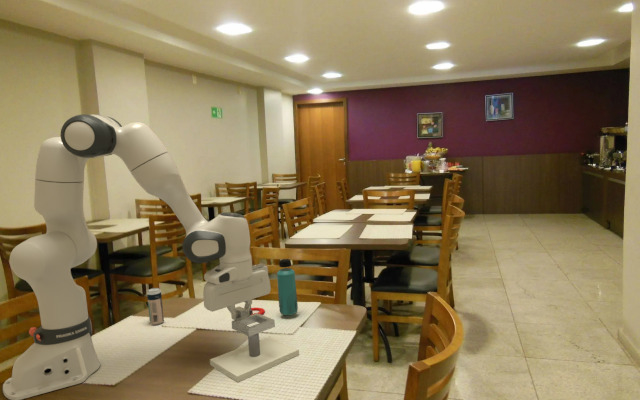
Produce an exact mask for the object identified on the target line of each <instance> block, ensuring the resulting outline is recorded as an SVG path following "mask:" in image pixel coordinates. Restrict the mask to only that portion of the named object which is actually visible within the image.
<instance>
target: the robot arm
mask: <svg viewBox="0 0 640 400" xmlns="http://www.w3.org/2000/svg"><path fill="white" fill-rule="evenodd" d="M111 155H115V156H117V157H118V158H120V159H121V160H122V161H123V163H124V165H125V166H126V167H127V169H128V171H129V173H130V174H131V175H132V177H133V179H134V180H135V181H136V183H138V184H139V186H140V187H141V189H143V190H144V191H145V192H146V193H147V194H149V195H151V196H153V197H156V198H157V199H160V200H161V201H163V202H165V204H167V205H168V206H169V207H170V209H171V210H172V212H173V213H174V214H175V216H176V217H177V220H179V222H180V224H181V225H182V227H183V229H184V230H185V234H186V236H185V237H184V239H183V242H182V252H183V254H184V255H185V256H184V257H186V258H187V259H188V260H189V261H190V262H192V263H195V264H205V263H210V262H212V261H216V260H218V259H219V264H217V266H215V267H214V268H212V269H210V270H208V271H207V272H205V273H204V274H203V278H204V280H205V284H204V286H203V295H202V296H203V297H202V298H203V306H204V309H206V310H207V311H210V312H215V311H219V310H222V309H225V308H227V310H228V311H229V313H230V314H231V320H233V321H234V320H236V319H239V313H238V312H235V311H234V309H233V308H236V305H238V304H241V303H245V304H244V307H243V308H245V309H247V316H248V315H249V314H250V313H249V309H250V307H251V308H252V304H253V300H254V299H256V298H257V299H258V298H259V297H263V296H267V295H269V294H270V293H271V290H272V288H271V287H272V286H271V280H270V277H269V267H268V266H267V264H265V263H262V262H261V263H258V264H253V258H252V254H251V249H250V246H251V236H250V235H251V233H250V229H249V224H248V220H247V218H246V217H245V216H244V215H242V214H241V213H237V212H221V213H219V214H217V216H216V217H214V218H213V219H211V220H208V218H206V217H205V216H204V215H203V213H202V212H201V210H200V209H199V207H198V206H197V205H196V203H195V201H194V200H193V199H192V197H191V196H190V194H189V192H188V191H187V188H186V186H185V184H184V182H183V179H182V176H181V174H180V171H179V170H178V167H177V164H176V163H175V160H174V158H173V157H172V156H171V153H170V152H169V151H168V149H167V148H166V146H165V145H164V143H163V142H162V140H161V139H160V138H159V136H157V134H156V133H155V132H154V131H153V130H152V128H151V127H150V126H149V125H147V124H146V123H144V122H139V121H135V122H134V121H133V122H130V123H127V124H124V125H122V124H121V123H120V122H119V121H118V120H117V119H115V118H113V117H110V116H106V115H102V114H96V113H94V114H93V113H91V114H87V113H81V114H77V115H75V116H72V117H70V118H68V119H66V121H65V122H64V124H63V125H62V127H61V128H60V136H53V137H50V138H47V139H45V140H44V141H43V142H42V143H40V147H39V151H38V154H37V157H36V165H35V173H34V174H35V177H34V197H33V199H34V200H33V202H34V203H33V205H34V207H33V208H34V209H35V211H36V212H37V213H38V214H39V215H41V216H42V217H43V219H44V222H45V226H46V233H43V234H38V235H35V236H32V237H29V238H27V239H25V240H24V241H22V242H20V243H19V244H17V245H15V247H14V248H13V249H12V251H11V252H10V255H9V265H10V269H11V270H12V272H13V273H14V274H15V275H16V276H17V277H18V278H19V279H21V280H23V281H26V283H27V284H28V285H29V286H30V287H31V289H32V290H33V293H34V295H35V297H36V300H37V305H38V310H39V317H40V323H41V324H40V326H39V327H38V328H37V327H36V326H32V327H30V328H29V330H28V334H29V335H30V336H31V337H33V341H34V343H32V344H31V345H30V346H29V347H28V348H27V349H26V350H25V351H24V352H23V353H22V354H21V355H20V356H19V357H18V358H16V360H14V363H13V367H12V371H11V377H9V378H8V379H6V380H5V381H4V383H3V384H2V393H3V395H4V396H5V398H7V399H8V400H24V399H29V398H32V397H35V396H39V395H41V394H46V393H49V392H50V393H51V392H53V391H54V392H55V391H57V390H60V389H64V388H67V387H71V386H75V385H79V384H81V383H83V382H85V381H86V380H87V379H88V378H89V376H91V375H92V374H94V373H95V372H96V371H97V370H99V368H100V367H101V361H100V360H99V358H98V356H97V353H96V350H95V346H94V342H93V338H92V336H93V326H92V321H91V320H92V319H91V317H90V316H89V313H88V302H87V296H86V295H87V294H86V291H85V289H84V288H83V287H82V286H80V285H79V284H77V283H76V282H75V279H74V278H73V275H72V271H71V269H72V268H76V267H77V266H80V265H82V264H83V263H85V262H86V261H88V260H89V259H90V258H91V257H93V255H94V254H95V253H96V251H97V248H98V240H97V238H96V236H95V234H94V233H93V232H92V231H91V230H90V229H89V227H88V224H87V221H86V218H85V212H84V185H85V183H84V181H85V169H86V168H85V167H86V164H87V163H88V161H89V160H90V159H96V158H104V157H107V156H111Z"/></svg>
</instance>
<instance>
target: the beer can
mask: <svg viewBox="0 0 640 400" xmlns="http://www.w3.org/2000/svg"><path fill="white" fill-rule="evenodd" d="M146 297H147V306H148V308H147V309H148V317H149V318H148V319H149V324H150V325H152V326H158V324H159V325H161V324H163V323H164V322H165V320H164V318H165V317H164V307H163V299H162V298H163V297H162V290H161V289H160V288H159V287H152V288H150V289H147V292H146Z"/></svg>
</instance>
